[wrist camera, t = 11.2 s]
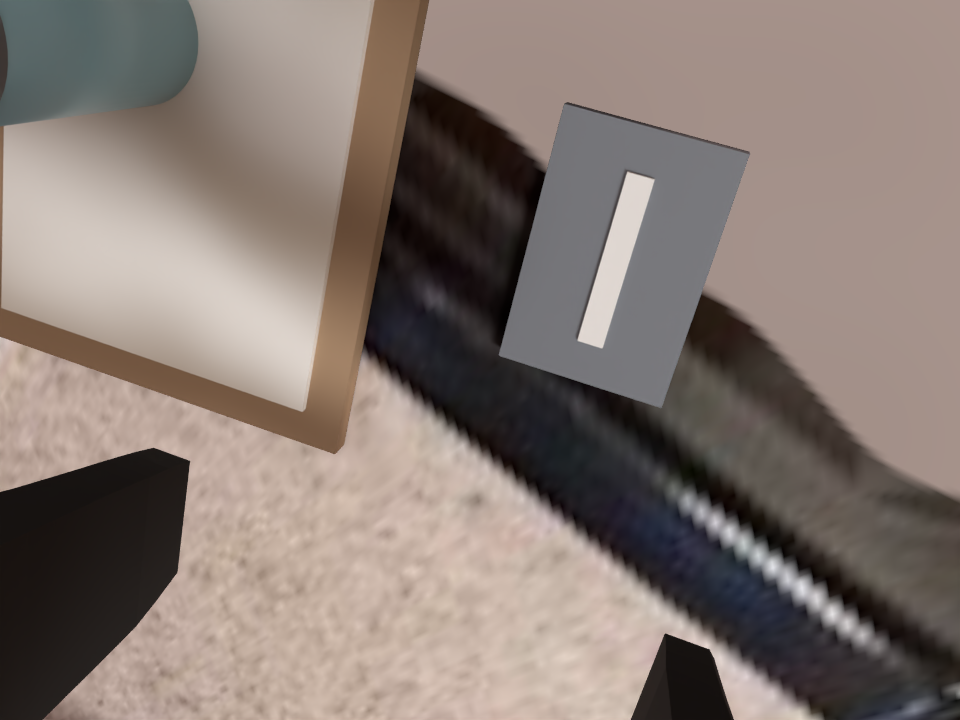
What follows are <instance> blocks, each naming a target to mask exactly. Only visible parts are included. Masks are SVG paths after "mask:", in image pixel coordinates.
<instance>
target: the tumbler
mask: <svg viewBox="0 0 960 720" xmlns="http://www.w3.org/2000/svg"><path fill="white" fill-rule="evenodd" d="M197 55H198V31H197V25H196V21H195V17H194V14H193V11H192V9H191V6H190V4H189V2H188V0H0V126H7V125H14V124H22V123H29V122H36V121H44V120H51V119H58V118H65V117H73V116H80V115H87V114H95V113H102V112H109V111H116V110H124V109H131V108H138V107H146V106H153V105H157V104H161V103H164V102H166V101H168V100H170V99H172V98H173V97H175V96H176V95H177V94H178V93H179V92H181V90H182V89H183V88H184V87H185V86H186V84H187V83H188V81H189V79H190V78H191V75H192V73H193V71H194V68H195V64H196V61H197Z"/></svg>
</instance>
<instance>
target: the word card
mask: <svg viewBox="0 0 960 720" xmlns="http://www.w3.org/2000/svg"><path fill="white" fill-rule="evenodd" d="M749 155H750V153H749V152H748V151H744V150H740V149H737V148H733V147H730V146H726V145H722V144H719V143H715V142H711V141H708V140H704V139H700V138H696V137H693V136H689V135H686V134H682V133H678V132H674V131H671V130H667V129H663V128H660V127H656V126H653V125H649V124H645V123H641V122H638V121H634V120H631V119H627V118H623V117H620V116H616V115H612V114H608V113H605V112H601V111H598V110H594V109H590V108H587V107H582V106H579V105H575V104H572V103H568V102H567V103H565V104H564V106H563V110H562V114H561V118H560V122H559V126H558V130H557V133H556V137H555V141H554V145H553V149H552V153H551V157H550V160H549V164H548V168H547V172H546V176H545V180H544V183H543V187H542V191H541V195H540V199H539V203H538V207H537V210H536V214H535V218H534V222H533V226H532V230H531V234H530V237H529V241H528V245H527V249H526V253H525V257H524V261H523V264H522V268H521V272H520V276H519V280H518V284H517V288H516V291H515V295H514V299H513V303H512V307H511V311H510V314H509V318H508V322H507V326H506V330H505V334H504V338H503V341H502V345H501V349H500V353H499V356H502V357H505V358H508V359H511V360H514V361H517V362H520V363H523V364H526V365H530V366H533V367H536V368H539V369H542V370H545V371H548V372H551V373H554V374H557V375H560V376H564V377H567V378H570V379H573V380H576V381H579V382H582V383H585V384H588V385H591V386H595V387H598V388H601V389H604V390H607V391H610V392H613V393H616V394H619V395H622V396H626V397H629V398H632V399H635V400H638V401H641V402H644V403H647V404H650V405H653V406H657V407H660V408H661V407H662V405H663V402H664V399H665V396H666V393H667V390H668V387H669V384H670V382H671V379H672V376H673V373H674V370H675V367H676V364H677V362H678V359H679V356H680V353H681V350H682V347H683V344H684V341H685V339H686V336H687V333H688V330H689V327H690V324H691V321H692V319H693V316H694V313H695V310H696V307H697V304H698V301H699V298H700V296H701V293H702V290H703V287H704V284H705V281H706V278H707V275H708V273H709V269H710V267H711V264H712V261H713V258H714V255H715V253H716V249H717V247H718V244H719V241H720V238H721V235H722V232H723V230H724V227H725V224H726V221H727V218H728V215H729V212H730V209H731V207H732V204H733V201H734V198H735V195H736V192H737V189H738V187H739V184H740V181H741V178H742V175H743V172H744V169H745V167H746V164H747V161H748V158H749Z"/></svg>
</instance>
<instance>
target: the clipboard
mask: <svg viewBox="0 0 960 720" xmlns="http://www.w3.org/2000/svg"><path fill="white" fill-rule="evenodd" d="M188 2H189V4H190V6H191V9H192V11H193V14H194V17H195V21H196V25H197V31H198V55H197V61H196V64H195V68H194V71H193V73H192V75H191V78H190V79H189V81H188V83H187V84H186V86H185V87H184V88H183V89H182V90H181V92H179V93H178V94H177V95H176V96H175V97H173V98H172V99H170V100H168V101H166V102H164V103H161V104H157V105H153V106H146V107H138V108H131V109H124V110H116V111H109V112H102V113H95V114H87V115H80V116H73V117H65V118H58V119H51V120H44V121H36V122H29V123H22V124H14V125H7V126H0V337H3V338H6V339H8V340H11V341H14V342H17V343H20V344H23V345H26V346H28V347H31V348H34V349H37V350H40V351H43V352H45V353H48V354H51V355H54V356H57V357H60V358H62V359H65V360H68V361H71V362H74V363H77V364H80V365H82V366H85V367H88V368H91V369H94V370H97V371H99V372H102V373H105V374H108V375H111V376H114V377H117V378H119V379H122V380H125V381H128V382H131V383H134V384H136V385H139V386H142V387H145V388H148V389H151V390H154V391H156V392H159V393H162V394H165V395H168V396H171V397H173V398H176V399H179V400H182V401H185V402H188V403H190V404H193V405H196V406H199V407H202V408H205V409H208V410H210V411H213V412H216V413H219V414H222V415H225V416H227V417H230V418H233V419H236V420H239V421H242V422H245V423H247V424H250V425H253V426H256V427H259V428H262V429H264V430H267V431H270V432H273V433H276V434H279V435H282V436H284V437H287V438H290V439H293V440H296V441H299V442H301V443H304V444H307V445H310V446H313V447H316V448H319V449H321V450H324V451H327V452H330V453H333V454H336V453H337V451H338V450H339V449H340V448H341V447H342V446H343V445H344V442H345V437H346V432H347V426H348V421H349V416H350V411H351V405H352V400H353V395H354V390H355V385H356V379H357V374H358V369H359V364H360V359H361V353H362V348H363V343H364V338H365V332H366V327H367V322H368V317H369V312H370V306H371V301H372V296H373V291H374V285H375V280H376V275H377V270H378V265H379V259H380V254H381V249H382V244H383V238H384V233H385V228H386V223H387V218H388V212H389V207H390V202H391V197H392V191H393V186H394V181H395V176H396V171H397V165H398V160H399V155H400V150H401V145H402V139H403V134H404V129H405V124H406V118H407V113H408V108H409V103H410V98H411V92H412V87H413V82H414V77H415V71H416V66H417V61H418V56H419V50H420V45H421V40H422V35H423V30H424V24H425V19H426V14H427V9H428V3H429V0H188Z"/></svg>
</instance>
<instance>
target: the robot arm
mask: <svg viewBox="0 0 960 720" xmlns="http://www.w3.org/2000/svg"><path fill="white" fill-rule="evenodd" d="M189 465H190V461H188V460H186V459H183V458H180V457H177V456H175V455H172V454H169V453H166V452H164V451H161V450H158V449H155V448H151V449H147V450H142V451H138V452H134V453H131V454H127V455H124V456H120V457H117V458H113V459H110V460H107V461H103V462H100V463H97V464H94V465H90V466H87V467H84V468H81V469H77V470H74V471H71V472H68V473H64V474H61V475H58V476H54V477H51V478H48V479H44V480H41V481H38V482H34V483H31V484H28V485H24V486H21V487H17V488H14V489H10V490H6V491H3V492H0V720H43V719H44V718H45V717H46V716H47V715H48V714H49V713H50V712H51V711H52V710H53V709H54V708H55V707H56V706H57V705H58V704H59V703H60V702H61V701H62V700H63V699H64V698H65V697H66V696H67V695H68V694H69V693H70V692H71V691H72V690H73V689H74V688H75V687H76V686H77V685H78V684H79V683H80V682H81V681H82V680H83V679H84V678H85V677H86V676H87V675H88V674H89V673H90V672H91V671H92V670H93V669H94V668H95V667H96V666H97V665H98V664H99V663H100V662H101V661H102V660H103V659H104V658H105V657H106V656H107V655H108V654H109V653H110V652H111V651H112V650H113V649H114V648H115V647H116V646H117V645H118V644H119V643H120V642H121V641H122V640H123V639H124V638H125V637H126V636H127V635H128V634H129V633H130V632H131V631H132V630H133V629H134V628H135V627H136V626H137V624H138V623H139V622H140V621H141V619H142V618H143V617H144V616H145V614H146V613H147V612H148V611H149V609H150V608H151V607H152V606H153V604H154V603H155V602H156V600H157V599H158V598H159V596H160V595H161V594H162V592H163V591H164V590H165V588H166V587H167V586H168V584H169V583H170V582H171V580H172V579H173V578H174V576H175V575H176V574H177V571H178V562H179V554H180V545H181V536H182V527H183V518H184V509H185V501H186V492H187V483H188V474H189ZM631 720H734V719H733V716H732V713H731V710H730V707H729V704H728V701H727V698H726V695H725V692H724V689H723V686H722V683H721V680H720V676H719V673H718V670H717V666H716V663H715V660H714V658H713V656H712V654H711V652H710V650H709V649H707V648H704V647H701V646H698V645H696V644H693V643H690V642H687V641H685V640H682V639H679V638H676V637H673V636H671V635H668V634H665V635H664V637H663V640H662V642H661V645H660V647H659V650H658V652H657V655H656V658H655V660H654V663H653V665H652V668H651V670H650V673H649V675H648V678H647V680H646V683H645V685H644V688H643V690H642V693H641V695H640V698H639V700H638V703H637V706H636V708H635V711H634V713H633V716H632V718H631Z"/></svg>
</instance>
